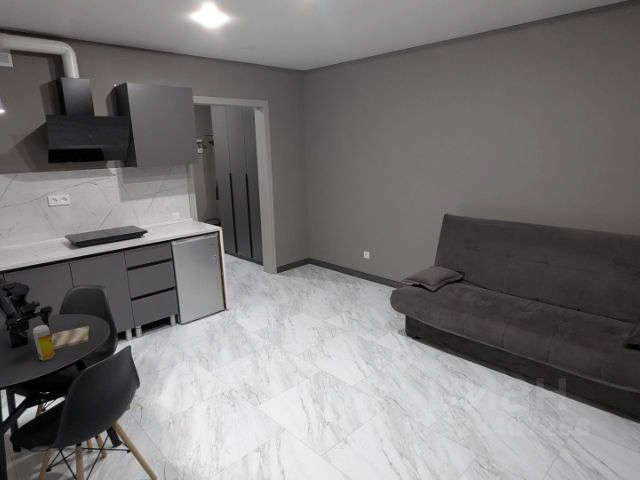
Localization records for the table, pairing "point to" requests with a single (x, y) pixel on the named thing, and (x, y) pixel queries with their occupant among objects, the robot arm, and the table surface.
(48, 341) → the beer can
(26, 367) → the table surface
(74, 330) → the birch board
